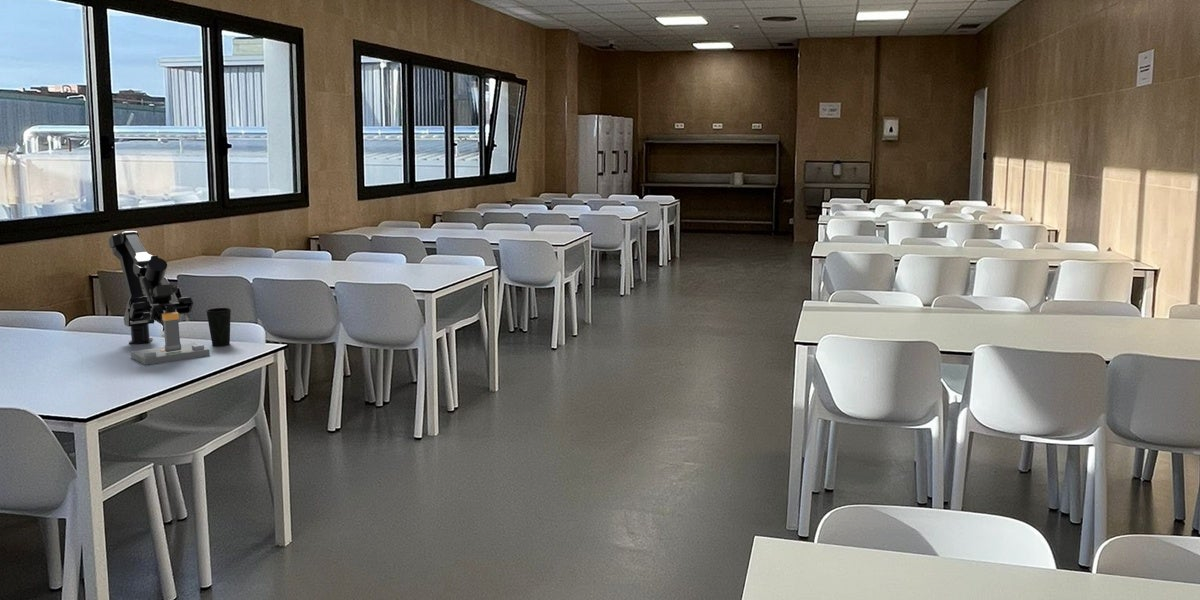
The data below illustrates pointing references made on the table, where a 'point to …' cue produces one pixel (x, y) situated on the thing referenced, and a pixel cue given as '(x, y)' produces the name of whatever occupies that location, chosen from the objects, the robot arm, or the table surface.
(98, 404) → the table surface
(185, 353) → the panel
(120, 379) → the table surface
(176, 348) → the handle
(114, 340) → the table surface
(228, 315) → the cup
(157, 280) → the robot arm
